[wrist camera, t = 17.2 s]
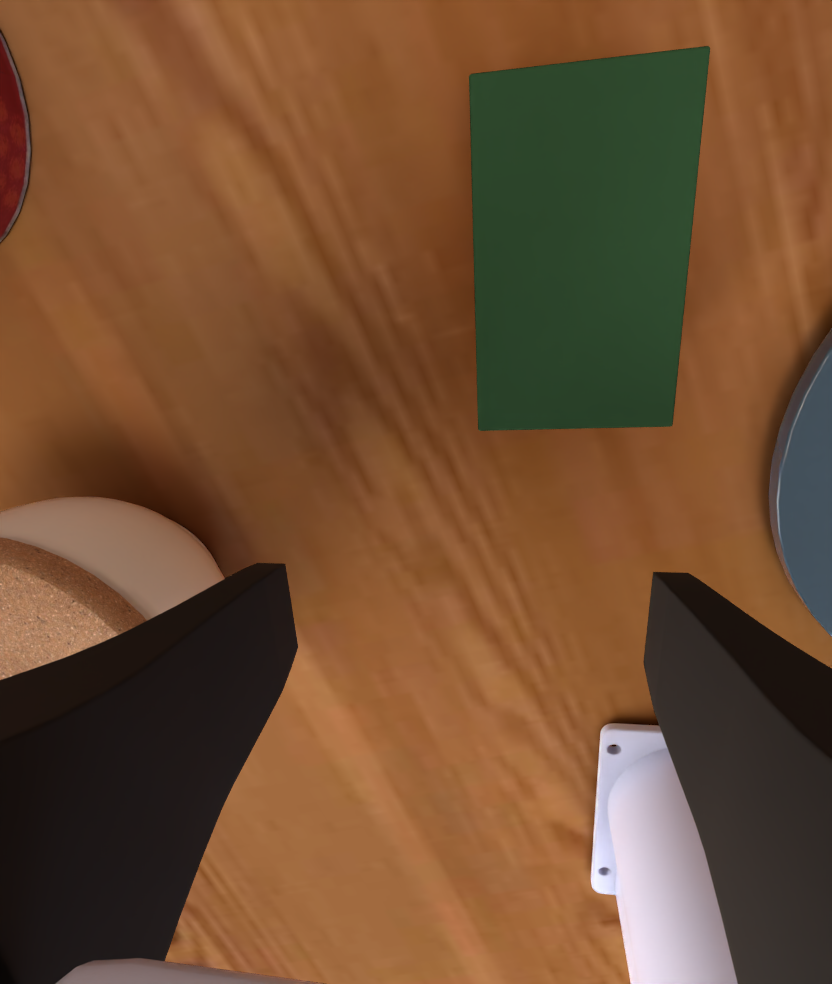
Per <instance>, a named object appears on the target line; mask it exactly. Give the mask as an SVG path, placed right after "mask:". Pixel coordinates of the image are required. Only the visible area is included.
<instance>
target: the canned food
mask: <svg viewBox="0 0 832 984" xmlns="http://www.w3.org/2000/svg"><path fill="white" fill-rule="evenodd" d="M30 157H31V145H30V131H29V118H28V112H27V108H26V104H25V99H24V95H23V90H22V86H21V82H20V78H19V76H18V73H17V70H16V68H15V65H14V62H13V60H12V57H11V55H10V52H9V49H8V47H7V44H6V42H5V40H4V38H3V36H2V34H1V32H0V242H1V241H2V240H3V239H4V238H5V236H6V235H7V234H8V232H9V230H10V229H11V227H12V225H13V223H14V221H15V220H16V218H17V216H18V214H19V212H20V209H21V206H22V203H23V199H24V196H25V192H26V189H27V185H28V178H29V168H30Z"/></svg>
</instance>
